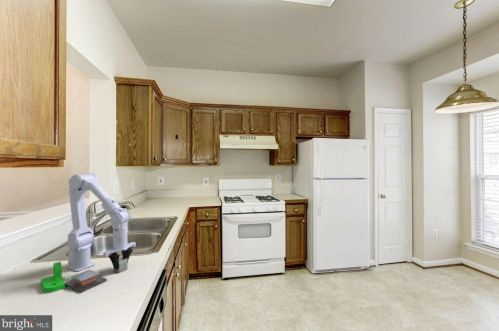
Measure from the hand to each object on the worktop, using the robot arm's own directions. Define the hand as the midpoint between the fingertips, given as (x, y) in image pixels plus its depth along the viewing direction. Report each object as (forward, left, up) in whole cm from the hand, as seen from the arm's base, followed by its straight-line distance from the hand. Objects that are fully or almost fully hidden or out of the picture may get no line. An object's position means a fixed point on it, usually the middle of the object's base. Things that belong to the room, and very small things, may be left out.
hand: (120, 266), depth 108 cm
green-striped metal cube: (0, 0, -1) cm, 1 cm away
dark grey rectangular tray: (-2, -14, -2) cm, 14 cm away
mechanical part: (-12, -21, -2) cm, 24 cm away
